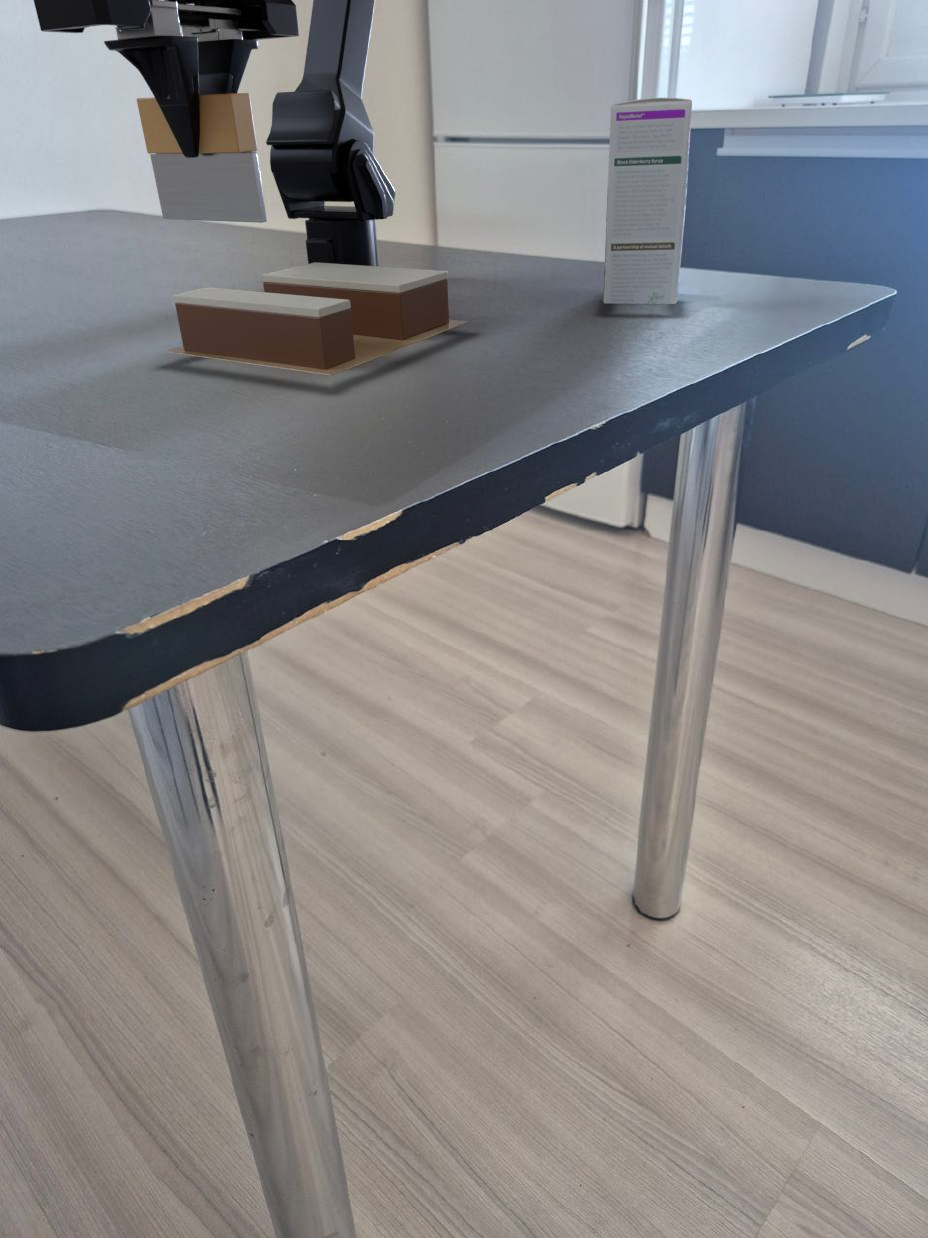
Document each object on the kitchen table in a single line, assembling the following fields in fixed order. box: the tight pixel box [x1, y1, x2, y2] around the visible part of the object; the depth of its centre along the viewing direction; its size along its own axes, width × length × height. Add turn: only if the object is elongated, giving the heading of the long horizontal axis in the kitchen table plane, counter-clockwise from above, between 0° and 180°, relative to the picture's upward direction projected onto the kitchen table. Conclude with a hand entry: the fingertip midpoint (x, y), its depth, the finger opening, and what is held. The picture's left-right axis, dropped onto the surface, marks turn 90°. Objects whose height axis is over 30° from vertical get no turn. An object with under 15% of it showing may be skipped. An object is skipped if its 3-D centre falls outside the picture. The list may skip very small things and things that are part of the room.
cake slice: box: [172, 286, 355, 370], centre depth 53 cm, size 3×12×4 cm, turn 59°
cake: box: [261, 262, 450, 340], centre depth 61 cm, size 6×12×4 cm, turn 59°
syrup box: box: [602, 97, 693, 305], centre depth 64 cm, size 6×6×14 cm
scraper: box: [136, 92, 268, 224], centre depth 61 cm, size 10×2×8 cm, turn 61°
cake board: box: [165, 319, 469, 376], centre depth 59 cm, size 16×14×1 cm
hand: (203, 156), depth 61 cm, fingers closed on scraper, 2 cm apart
